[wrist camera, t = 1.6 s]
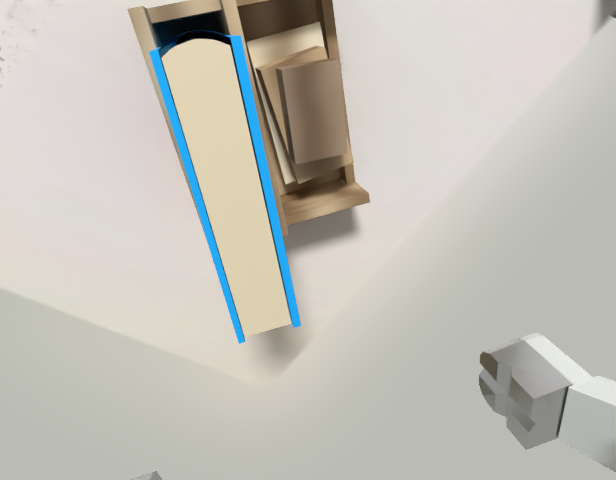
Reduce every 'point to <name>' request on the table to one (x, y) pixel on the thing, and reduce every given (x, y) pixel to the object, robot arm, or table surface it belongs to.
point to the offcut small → (313, 109)
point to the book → (228, 175)
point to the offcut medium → (274, 103)
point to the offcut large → (271, 50)
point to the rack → (249, 24)
